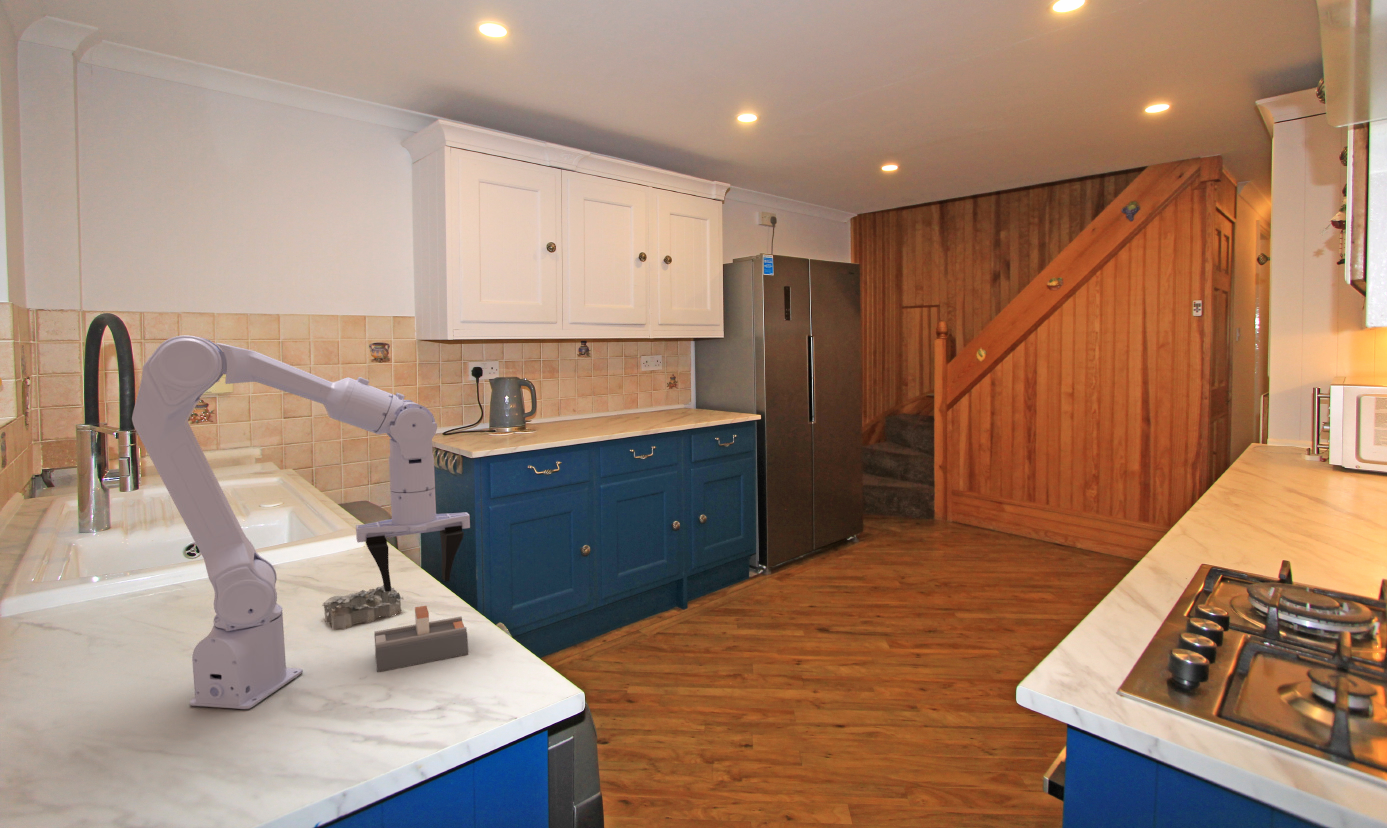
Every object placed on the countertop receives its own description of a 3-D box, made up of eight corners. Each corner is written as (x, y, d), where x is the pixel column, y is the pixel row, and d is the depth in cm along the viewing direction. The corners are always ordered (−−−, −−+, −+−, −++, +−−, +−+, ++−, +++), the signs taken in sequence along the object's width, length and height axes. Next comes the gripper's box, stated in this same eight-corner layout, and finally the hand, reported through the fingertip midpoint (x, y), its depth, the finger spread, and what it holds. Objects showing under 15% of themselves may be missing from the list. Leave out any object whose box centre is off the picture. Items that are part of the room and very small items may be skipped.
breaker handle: (417, 635, 92) (416, 614, 92) (415, 627, 95) (414, 607, 95) (429, 633, 93) (428, 612, 93) (427, 625, 96) (426, 605, 96)
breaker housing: (376, 672, 89) (375, 646, 89) (375, 653, 94) (374, 629, 94) (468, 654, 94) (467, 629, 94) (461, 637, 100) (460, 614, 99)
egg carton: (332, 634, 102) (331, 608, 101) (321, 619, 108) (319, 594, 107) (406, 615, 109) (404, 590, 108) (391, 602, 114) (390, 578, 114)
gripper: (356, 500, 87) (362, 603, 88) (473, 488, 94) (476, 583, 95) (352, 490, 93) (358, 586, 94) (462, 479, 100) (466, 569, 101)
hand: (417, 584), depth 95 cm, fingers open, 7 cm apart
